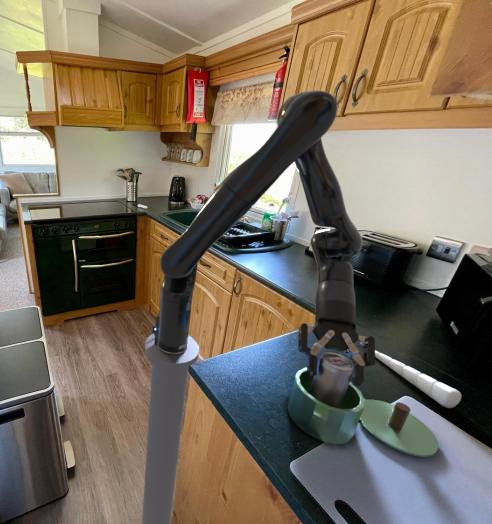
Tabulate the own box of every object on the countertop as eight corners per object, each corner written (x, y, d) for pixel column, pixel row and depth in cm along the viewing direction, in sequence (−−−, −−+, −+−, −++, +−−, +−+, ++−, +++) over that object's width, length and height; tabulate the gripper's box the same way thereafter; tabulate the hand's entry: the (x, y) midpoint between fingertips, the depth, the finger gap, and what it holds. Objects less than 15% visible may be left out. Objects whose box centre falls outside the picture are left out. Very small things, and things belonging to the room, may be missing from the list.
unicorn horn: (373, 346, 90) (378, 333, 89) (459, 409, 68) (467, 393, 67) (359, 347, 90) (364, 334, 88) (441, 410, 68) (450, 394, 66)
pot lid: (352, 430, 61) (361, 408, 59) (358, 394, 71) (365, 374, 69) (440, 473, 53) (453, 450, 51) (432, 425, 63) (443, 404, 61)
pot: (277, 428, 61) (285, 396, 58) (297, 382, 75) (305, 354, 72) (347, 467, 54) (361, 434, 51) (356, 408, 67) (367, 379, 64)
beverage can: (299, 404, 67) (315, 350, 62) (325, 405, 67) (343, 351, 62) (312, 426, 61) (331, 369, 56) (340, 428, 61) (362, 371, 56)
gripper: (304, 293, 64) (300, 369, 58) (381, 305, 60) (386, 389, 53) (295, 303, 71) (291, 373, 64) (364, 315, 66) (367, 391, 60)
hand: (334, 380), depth 59 cm, fingers open, 7 cm apart
